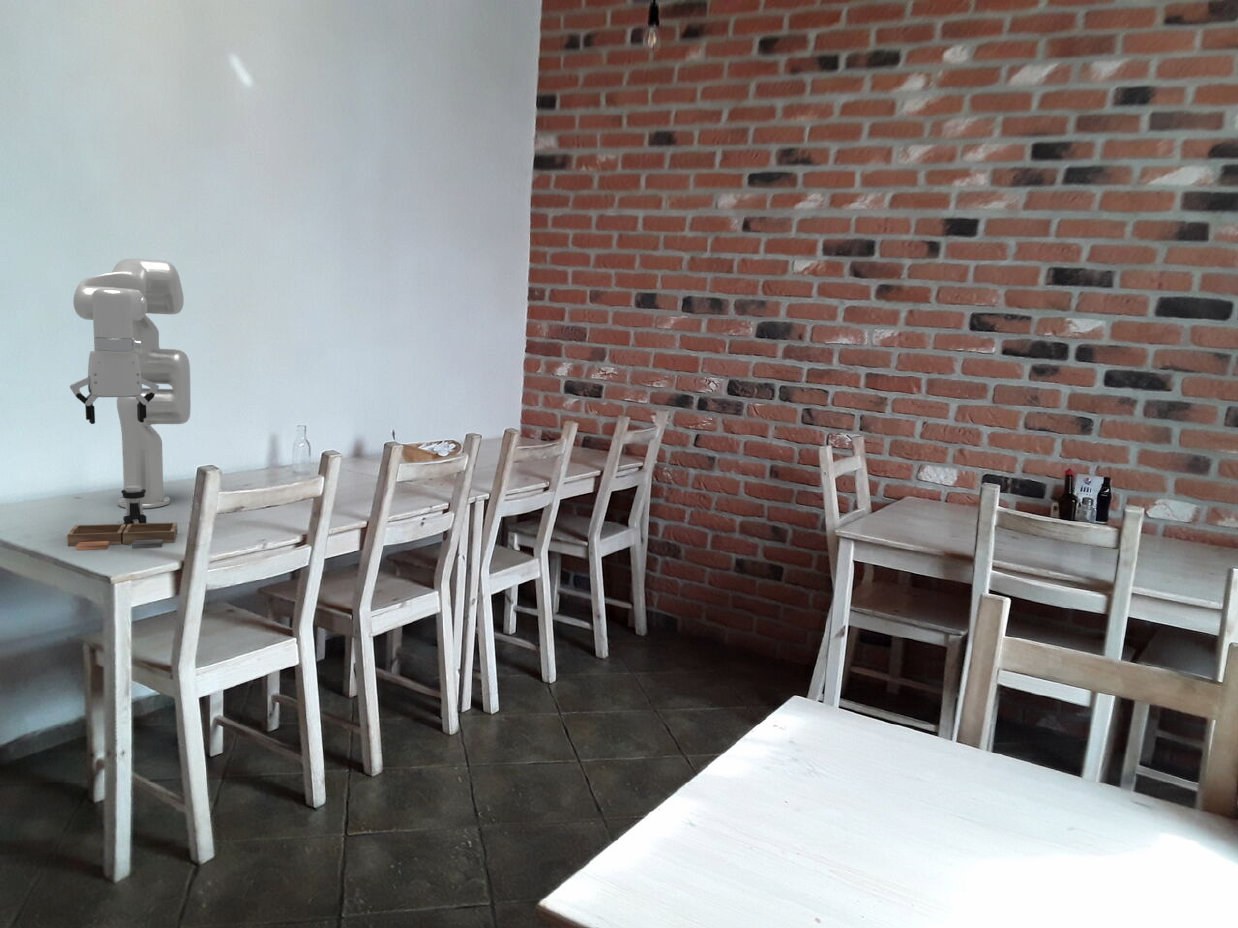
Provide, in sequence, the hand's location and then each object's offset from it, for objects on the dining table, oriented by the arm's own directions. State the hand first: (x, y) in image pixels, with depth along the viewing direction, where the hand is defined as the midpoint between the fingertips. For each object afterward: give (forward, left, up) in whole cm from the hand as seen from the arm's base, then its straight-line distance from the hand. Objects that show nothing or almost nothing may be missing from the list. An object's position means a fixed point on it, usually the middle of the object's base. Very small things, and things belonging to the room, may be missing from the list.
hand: (116, 422), depth 196 cm
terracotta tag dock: (-3, -5, -29) cm, 29 cm away
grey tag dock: (-3, +5, -29) cm, 29 cm away
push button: (-17, 0, -29) cm, 34 cm away
